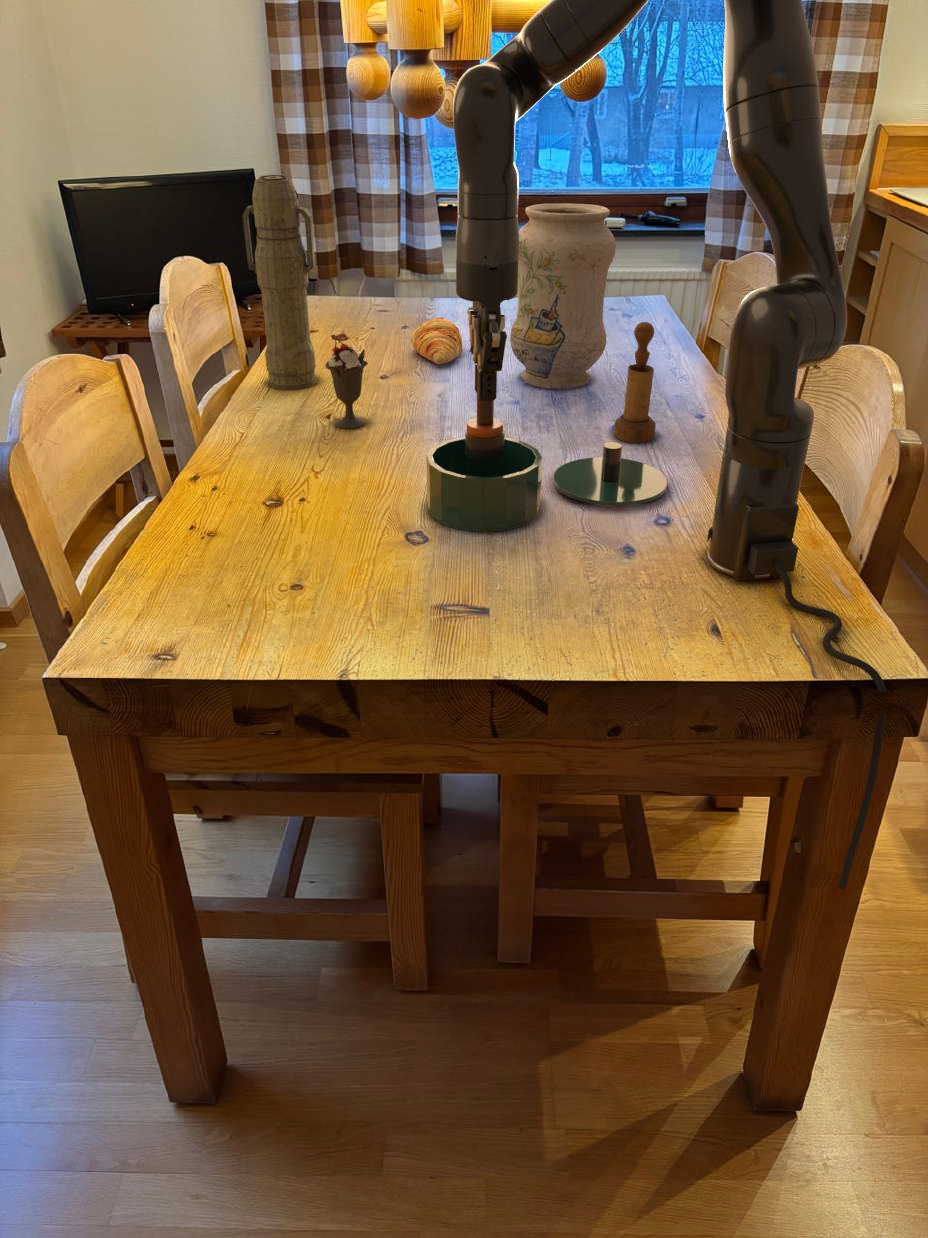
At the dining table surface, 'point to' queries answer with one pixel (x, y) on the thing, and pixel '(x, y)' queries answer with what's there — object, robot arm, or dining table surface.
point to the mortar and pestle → (638, 393)
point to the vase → (561, 293)
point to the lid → (610, 479)
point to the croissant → (437, 340)
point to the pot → (484, 486)
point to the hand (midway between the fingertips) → (485, 395)
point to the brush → (484, 431)
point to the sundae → (347, 381)
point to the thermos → (283, 279)
